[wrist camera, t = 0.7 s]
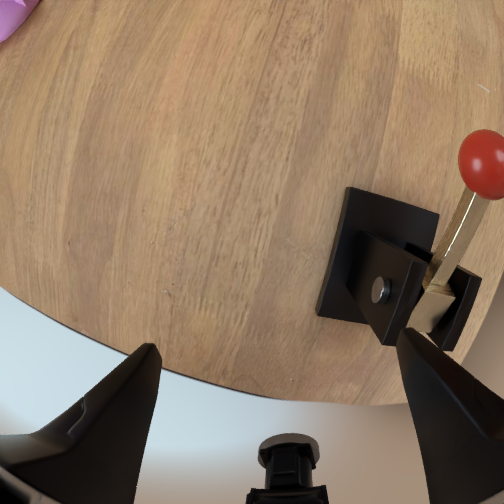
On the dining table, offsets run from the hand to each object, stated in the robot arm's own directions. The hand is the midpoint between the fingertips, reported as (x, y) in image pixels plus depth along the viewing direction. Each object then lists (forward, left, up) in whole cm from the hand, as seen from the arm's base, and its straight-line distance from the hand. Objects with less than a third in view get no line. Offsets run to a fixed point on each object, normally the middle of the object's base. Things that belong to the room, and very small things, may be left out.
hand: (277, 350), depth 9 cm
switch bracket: (-2, -8, -13) cm, 15 cm away
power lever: (+2, -10, -5) cm, 11 cm away
